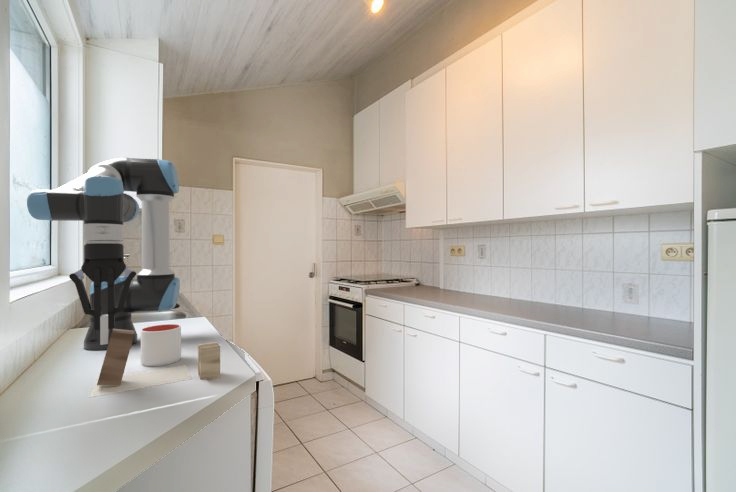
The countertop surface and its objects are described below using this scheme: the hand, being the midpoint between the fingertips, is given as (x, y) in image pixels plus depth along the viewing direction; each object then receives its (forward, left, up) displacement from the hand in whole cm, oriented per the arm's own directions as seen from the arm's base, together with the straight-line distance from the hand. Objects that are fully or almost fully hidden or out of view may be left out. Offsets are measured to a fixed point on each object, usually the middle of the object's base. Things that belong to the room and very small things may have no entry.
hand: (104, 343), depth 85 cm
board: (0, +8, -10) cm, 13 cm away
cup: (-14, +12, -11) cm, 22 cm away
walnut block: (0, +1, -10) cm, 10 cm away
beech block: (+6, +22, -11) cm, 25 cm away
